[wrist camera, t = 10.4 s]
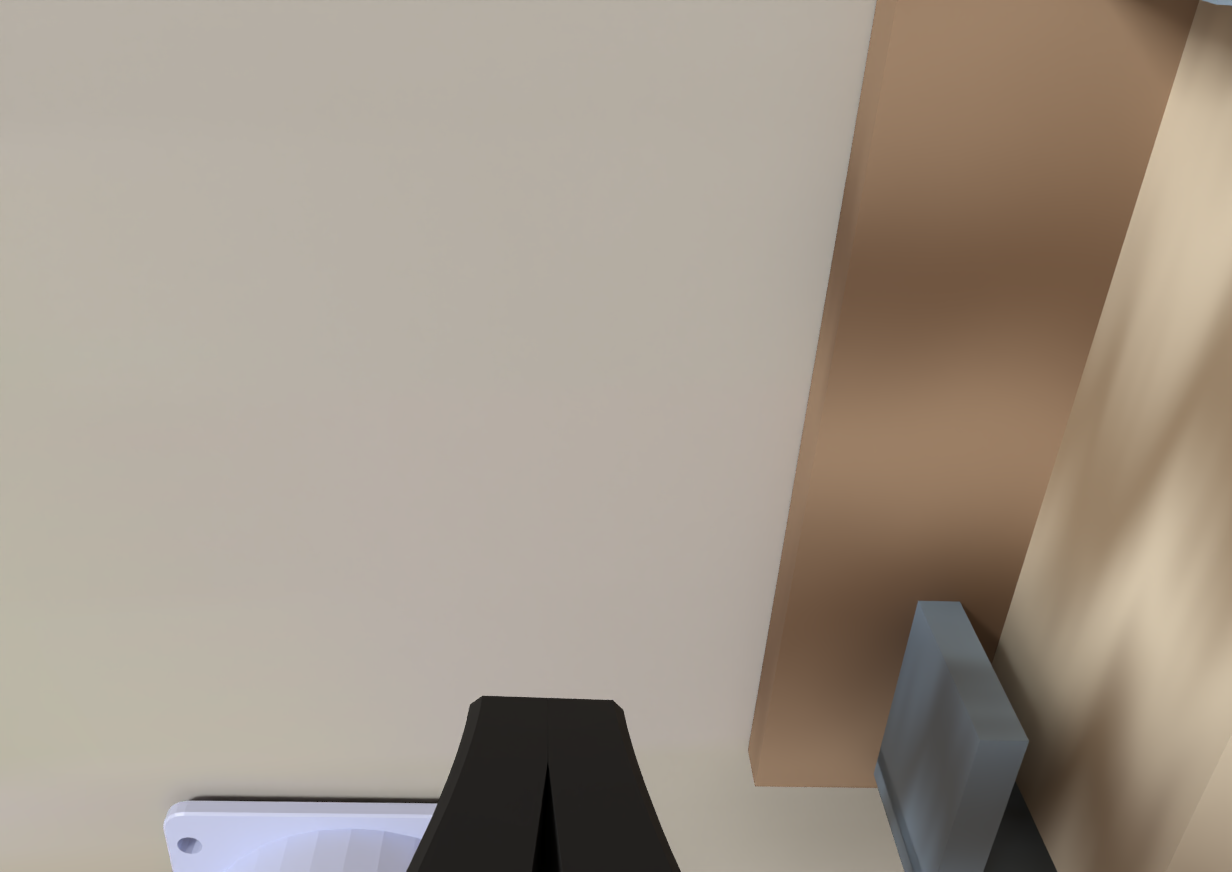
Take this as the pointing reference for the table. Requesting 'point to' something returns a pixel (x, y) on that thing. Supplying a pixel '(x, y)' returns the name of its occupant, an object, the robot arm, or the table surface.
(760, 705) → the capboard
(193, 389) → the table surface
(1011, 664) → the slat
